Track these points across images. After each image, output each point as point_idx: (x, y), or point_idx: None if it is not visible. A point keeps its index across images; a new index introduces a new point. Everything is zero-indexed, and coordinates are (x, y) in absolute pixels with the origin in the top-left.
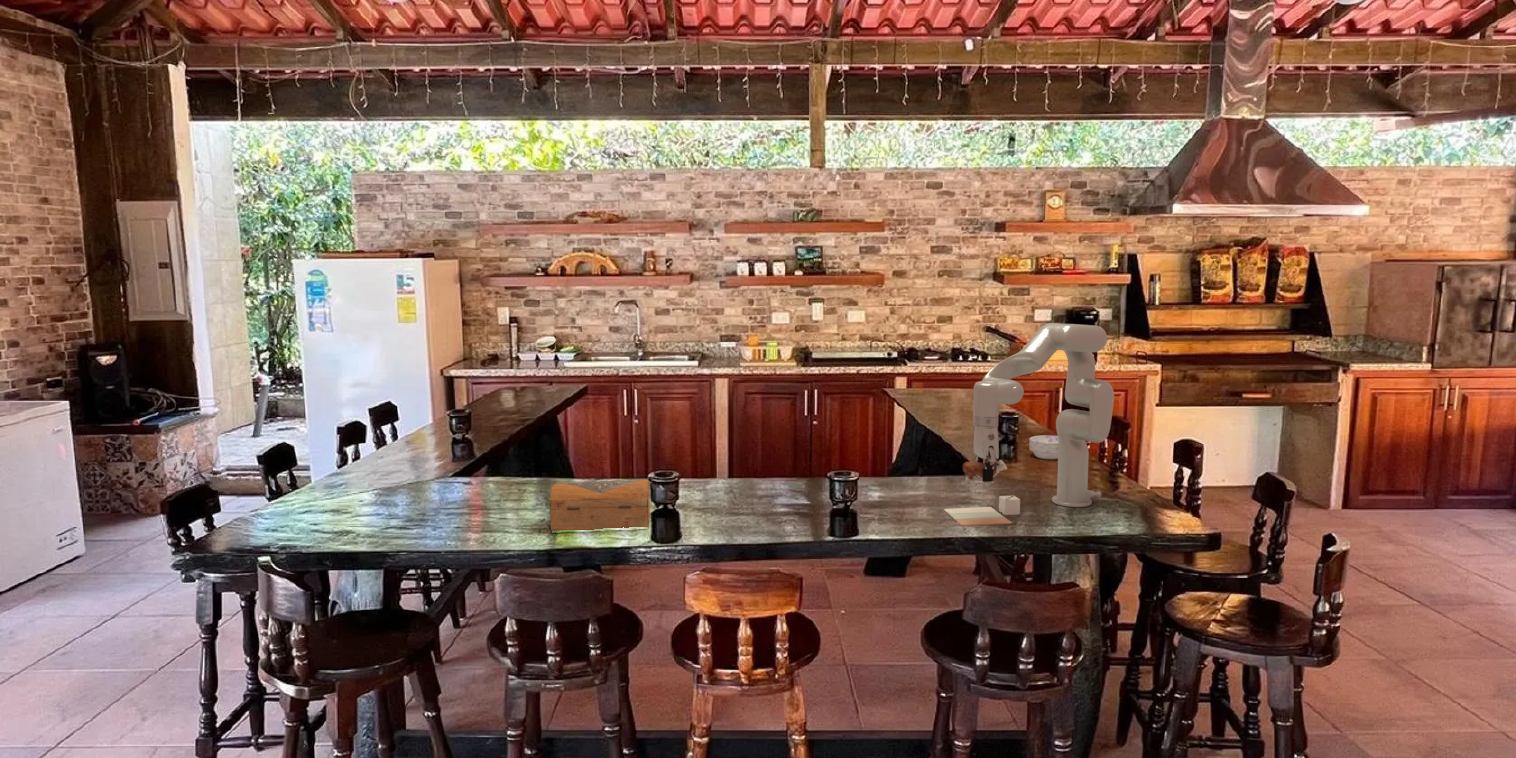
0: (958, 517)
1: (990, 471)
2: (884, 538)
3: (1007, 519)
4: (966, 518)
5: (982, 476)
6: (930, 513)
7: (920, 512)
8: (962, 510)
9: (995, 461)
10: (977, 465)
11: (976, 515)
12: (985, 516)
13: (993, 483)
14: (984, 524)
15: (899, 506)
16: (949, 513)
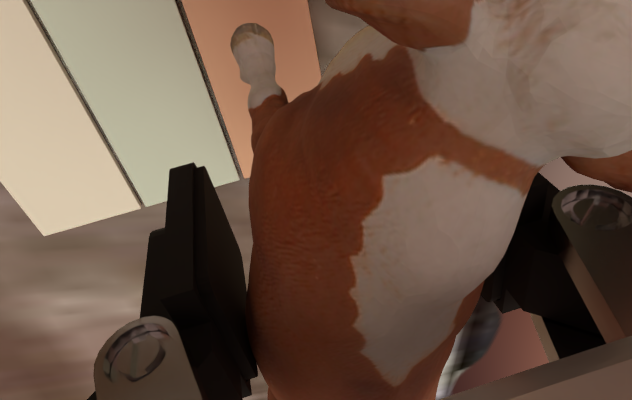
0: (203, 165)
1: (552, 201)
2: (453, 346)
3: None
4: (216, 127)
5: (218, 204)
6: (135, 276)
7: (130, 309)
8: (34, 143)
9: (515, 222)
10: (433, 395)
11: (133, 65)
12: (144, 5)
13: (271, 42)
14: (311, 31)
15: (56, 379)
16: (133, 207)
